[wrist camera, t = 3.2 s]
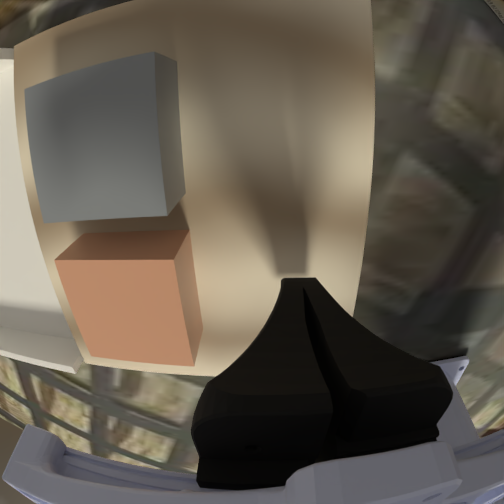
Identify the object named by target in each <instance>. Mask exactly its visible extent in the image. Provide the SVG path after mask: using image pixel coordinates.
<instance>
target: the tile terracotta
mask: <svg viewBox="0 0 504 504" xmlns="http://www.w3.org/2000/svg"><path fill="white" fill-rule="evenodd" d="M54 261H55V265H56V268H57V271H58V274H59V277H60V280H61V283H62V286H63V289H64V291H65V294H66V297H67V300H68V302H69V305H70V308H71V310H72V313H73V315H74V318H75V320H76V323H77V325H78V328H79V330H80V332H81V335H82V337H83V339H84V342H85V344H86V346H87V348H88V351H89V353H90V355H91V356H93V357H100V358H107V359H115V360H123V361H132V362H141V363H152V364H163V365H177V366H193V367H194V366H195V361H196V357H197V353H198V348H199V344H200V340H201V336H202V332H203V323H202V317H201V311H200V304H199V297H198V290H197V283H196V276H195V268H194V261H193V253H192V245H191V236H190V230H161V231H132V232H106V233H83V234H82V235H81V236H80V237H79V238H78V239H77V240H76V241H74V242H73V243H72V244H71V245H70V246H69V247H68V248H67V249H65V250H64V251H63V252H62V253H61V254H60V255H59V256H58V257H57V258H56V259H55V260H54Z"/></svg>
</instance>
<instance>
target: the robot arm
mask: <svg viewBox="0 0 504 504" xmlns="http://www.w3.org/2000/svg"><path fill="white" fill-rule="evenodd" d="M468 363H469V358H468V357H467V356H461V357H456V358H451V359H446V360H441V361H435V362H427V361H424V360H422V359H419V358H416V357H414V356H412V355H410V354H408V353H406V352H404V351H401V350H400V349H398V348H396V347H394V346H392V345H390V344H389V343H387V342H386V341H384V340H382V339H381V338H379V337H378V336H376V335H375V334H373V333H372V332H370V331H369V330H368V329H366V328H365V327H364V326H362V325H361V324H360V323H359V322H357V321H356V320H355V319H354V318H353V317H352V316H351V315H350V314H348V313H347V312H346V311H345V310H344V309H343V308H342V307H341V306H340V305H339V303H338V302H337V301H336V300H335V299H334V298H333V297H332V296H331V295H330V294H329V292H328V291H327V290H326V289H325V288H324V287H323V285H322V284H321V283H320V282H319V281H318V280H317V278H316V277H308V278H283V279H282V280H281V288H280V292H279V295H278V298H277V301H276V303H275V306H274V308H273V310H272V312H271V314H270V316H269V318H268V320H267V321H266V323H265V325H264V326H263V328H262V330H261V331H260V332H259V334H258V335H257V337H256V338H255V339H254V341H253V342H252V343H251V344H250V346H249V347H248V348H247V349H246V350H245V351H244V352H243V353H242V354H241V355H240V356H239V357H238V358H237V359H236V360H235V361H234V362H233V363H232V364H231V365H230V366H229V367H228V368H227V369H225V370H224V371H223V372H221V373H220V374H219V375H217V376H216V377H215V378H213V379H212V380H211V381H209V382H208V383H207V385H206V386H205V388H204V390H203V392H202V394H201V397H200V399H199V401H198V404H197V407H196V410H195V413H194V417H193V422H192V427H191V436H192V439H193V442H194V444H195V447H196V449H197V452H198V455H199V463H198V470H197V475H195V474H187V473H179V472H171V471H165V470H159V469H153V468H147V467H142V466H137V465H132V464H127V463H123V462H118V461H114V460H110V459H106V458H102V457H99V456H95V455H91V454H88V453H85V452H81V451H78V450H75V449H72V448H69V447H66V445H65V444H64V442H63V441H62V440H61V439H60V438H59V437H58V436H56V435H55V434H53V433H51V432H49V431H46V430H44V429H41V428H38V427H36V426H33V425H30V424H27V425H26V427H25V429H24V431H23V433H22V435H21V437H20V439H19V441H18V443H17V445H16V447H15V449H14V451H13V453H12V456H11V458H10V460H9V462H8V464H7V466H6V469H5V471H4V473H3V476H2V479H3V480H4V481H5V482H7V483H8V484H9V485H11V486H12V487H13V488H15V489H16V490H17V491H19V492H20V493H21V494H23V495H24V496H26V497H27V498H29V499H30V500H32V501H33V502H35V503H36V504H504V429H502V430H500V431H498V432H495V433H493V434H491V435H488V436H486V437H483V438H481V439H480V438H479V436H478V434H477V431H476V429H475V427H474V424H473V422H472V420H471V418H470V415H469V413H468V411H467V409H466V407H465V405H464V402H463V400H462V398H461V396H460V394H459V392H458V390H457V388H456V384H457V383H458V381H459V379H460V377H461V376H462V374H463V372H464V370H465V368H466V367H467V365H468Z"/></svg>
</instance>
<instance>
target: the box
mask: <svg viewBox="0 0 504 504" xmlns="http://www.w3.org/2000/svg"><path fill="white" fill-rule="evenodd" d="M0 355H3V356H6V357H9V358H13V359H16V360H20V361H24V362H27V363H31V364H35V365H39V366H43V367H47V368H52V369H56V370H61V371H65V372H70V373H75V374H76V372H77V371H78V369H79V367H80V365H81V363H82V362H83V360H84V358H83V356H82V354H81V352H80V350H79V348H78V346H77V344H76V342H75V339H74V337H73V335H72V333H71V330H70V328H69V326H68V323H67V321H66V319H65V316H64V314H63V311H62V309H61V306H60V304H59V301H58V298H57V296H56V293H55V290H54V288H53V285H52V282H51V279H50V276H49V273H48V270H47V267H46V264H45V261H44V258H43V255H42V251H41V248H40V245H39V241H38V238H37V234H36V230H35V226H34V223H33V219H32V215H31V210H30V206H29V202H28V197H27V192H26V187H25V182H24V177H23V171H22V165H21V159H20V152H19V144H18V136H17V127H16V116H15V101H14V48H0Z"/></svg>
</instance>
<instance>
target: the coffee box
mask: <svg viewBox="0 0 504 504" xmlns="http://www.w3.org/2000/svg"><path fill="white" fill-rule="evenodd" d="M484 1H485V2H486V3H487V4H488V5H489V7H490V8H491V9H492V10H493V11H494V13H495V14H496V15H497V16H498V17H499V19H500V20H501V21H502V23H503V24H504V0H484Z"/></svg>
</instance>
